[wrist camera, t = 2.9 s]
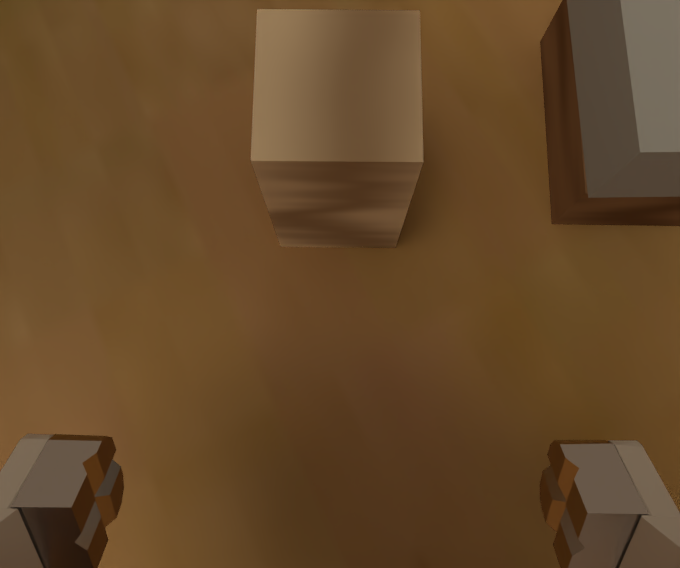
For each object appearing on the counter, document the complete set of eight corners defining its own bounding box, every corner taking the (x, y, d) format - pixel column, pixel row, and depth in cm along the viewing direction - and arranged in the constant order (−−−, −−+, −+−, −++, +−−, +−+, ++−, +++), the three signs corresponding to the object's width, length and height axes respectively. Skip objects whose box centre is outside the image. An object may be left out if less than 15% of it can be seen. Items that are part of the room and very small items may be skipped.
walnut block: (549, 226, 27) (585, 193, 23) (538, 45, 29) (569, -13, 25) (752, 229, 27) (823, 197, 23) (727, 48, 29) (788, -10, 25)
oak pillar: (280, 247, 26) (250, 160, 17) (283, 140, 27) (257, 8, 18) (395, 247, 26) (423, 162, 17) (394, 141, 27) (419, 10, 18)
